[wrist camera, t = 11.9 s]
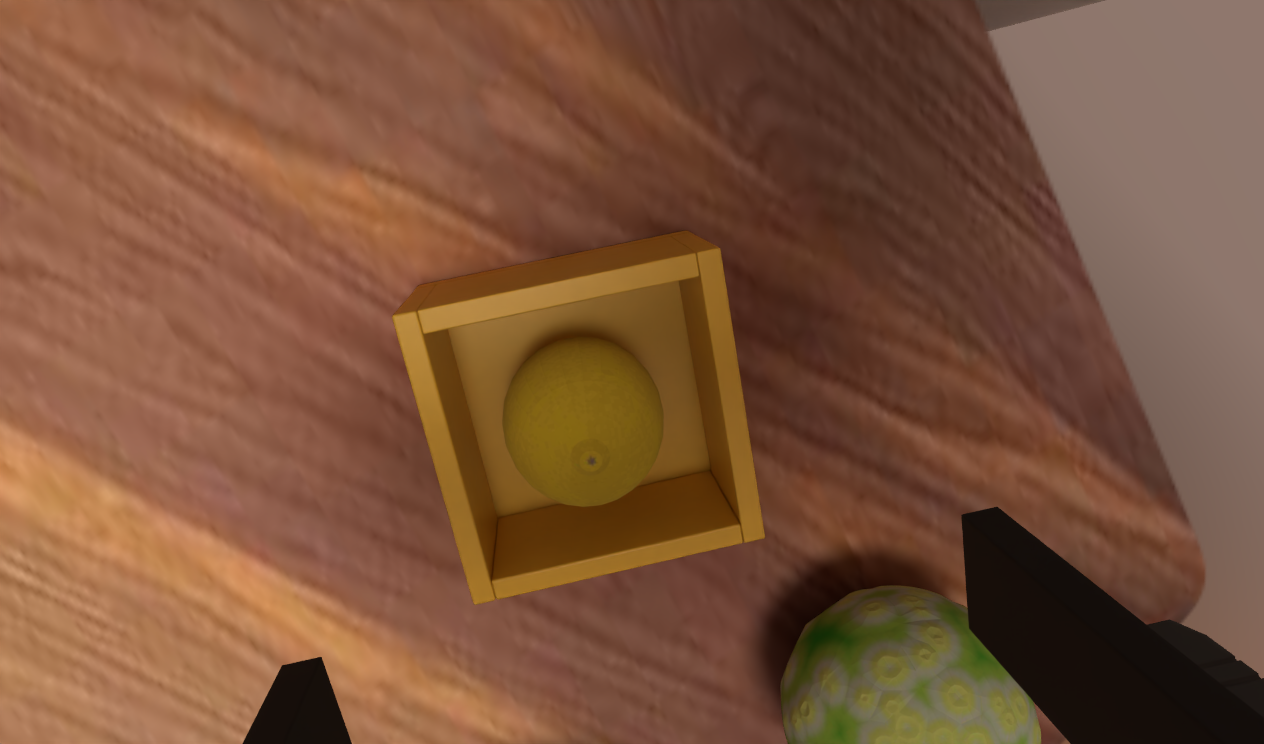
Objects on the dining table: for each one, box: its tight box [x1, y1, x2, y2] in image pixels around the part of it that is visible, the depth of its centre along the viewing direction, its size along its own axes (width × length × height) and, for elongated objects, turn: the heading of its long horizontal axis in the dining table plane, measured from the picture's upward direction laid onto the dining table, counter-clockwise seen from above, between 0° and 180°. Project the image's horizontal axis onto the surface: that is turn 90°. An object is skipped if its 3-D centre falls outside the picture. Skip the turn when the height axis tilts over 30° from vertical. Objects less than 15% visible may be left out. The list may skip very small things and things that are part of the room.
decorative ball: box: [780, 585, 1041, 744], centre depth 32 cm, size 10×10×10 cm
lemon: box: [502, 337, 664, 507], centre depth 27 cm, size 6×6×8 cm
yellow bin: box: [392, 230, 765, 605], centre depth 29 cm, size 11×11×6 cm
